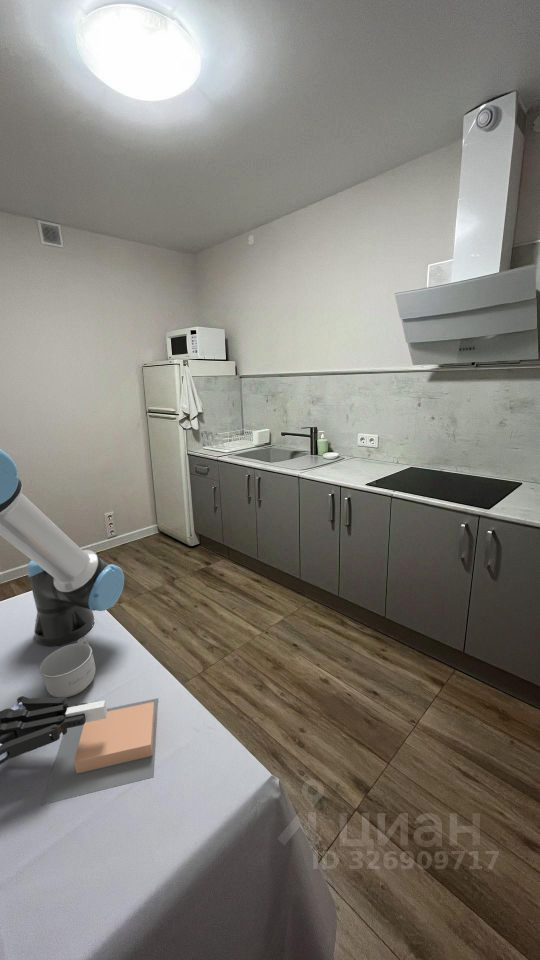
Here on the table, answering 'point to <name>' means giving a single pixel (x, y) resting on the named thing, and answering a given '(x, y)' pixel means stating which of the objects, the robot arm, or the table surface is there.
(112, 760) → the tile
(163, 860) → the table surface
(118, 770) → the mat
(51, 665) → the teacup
